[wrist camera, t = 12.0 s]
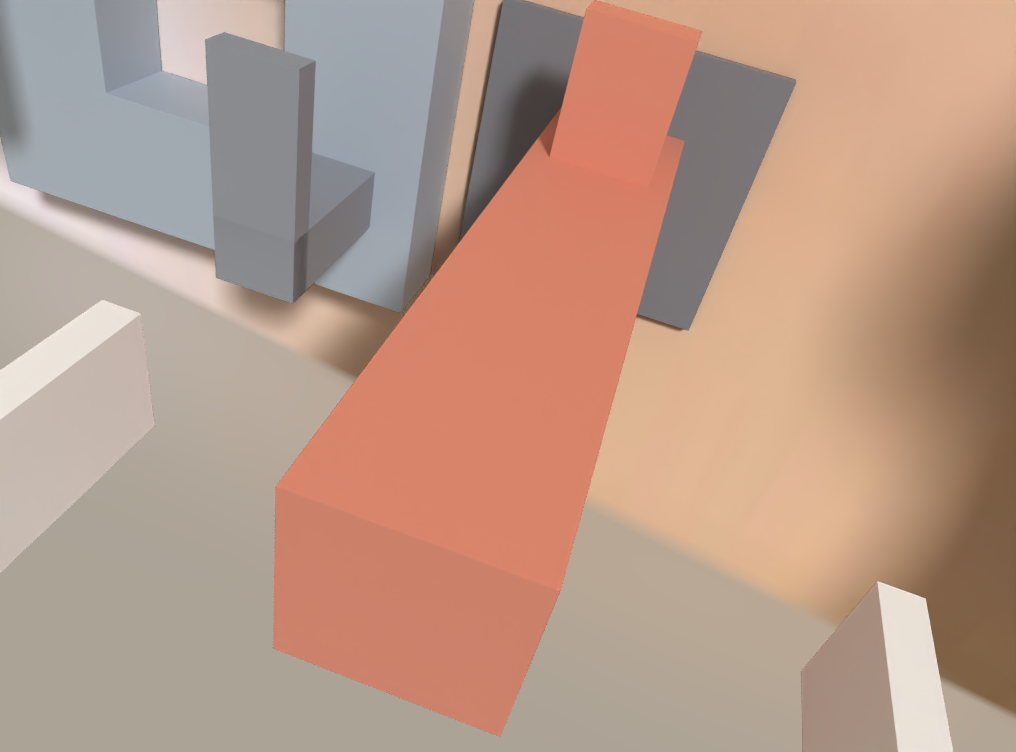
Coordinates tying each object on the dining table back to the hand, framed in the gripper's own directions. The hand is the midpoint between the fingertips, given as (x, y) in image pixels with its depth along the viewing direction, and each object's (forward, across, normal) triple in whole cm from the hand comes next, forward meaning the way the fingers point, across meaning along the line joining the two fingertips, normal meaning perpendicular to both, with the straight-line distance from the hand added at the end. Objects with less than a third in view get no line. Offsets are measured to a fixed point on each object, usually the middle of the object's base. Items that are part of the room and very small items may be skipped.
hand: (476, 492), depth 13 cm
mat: (+15, 0, 0) cm, 16 cm away
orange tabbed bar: (+15, 0, 0) cm, 15 cm away
